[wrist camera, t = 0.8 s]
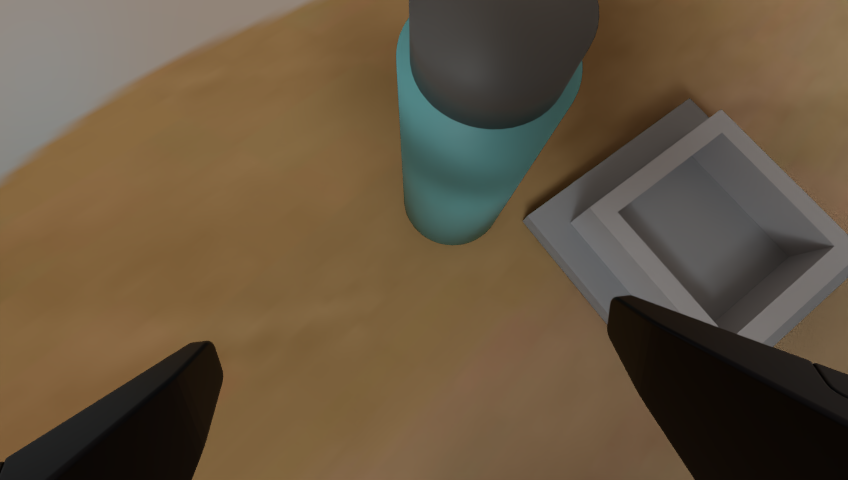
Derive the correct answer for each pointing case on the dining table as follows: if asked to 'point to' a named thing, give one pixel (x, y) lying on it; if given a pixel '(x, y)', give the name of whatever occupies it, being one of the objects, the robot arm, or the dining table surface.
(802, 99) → the dining table surface
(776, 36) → the dining table surface
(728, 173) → the tray
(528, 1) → the teal flask
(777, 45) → the dining table surface
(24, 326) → the dining table surface
